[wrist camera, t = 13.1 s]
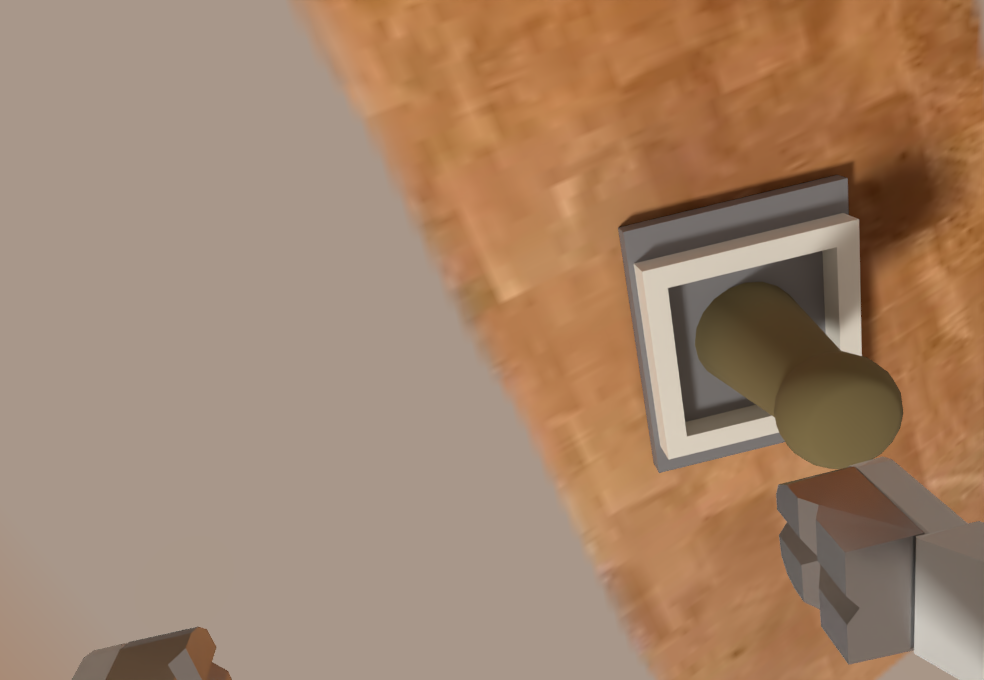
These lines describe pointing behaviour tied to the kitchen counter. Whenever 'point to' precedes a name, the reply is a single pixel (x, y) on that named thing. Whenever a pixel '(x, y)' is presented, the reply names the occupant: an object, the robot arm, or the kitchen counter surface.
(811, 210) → the notch board
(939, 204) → the kitchen counter surface
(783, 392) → the olive knobbed peg
